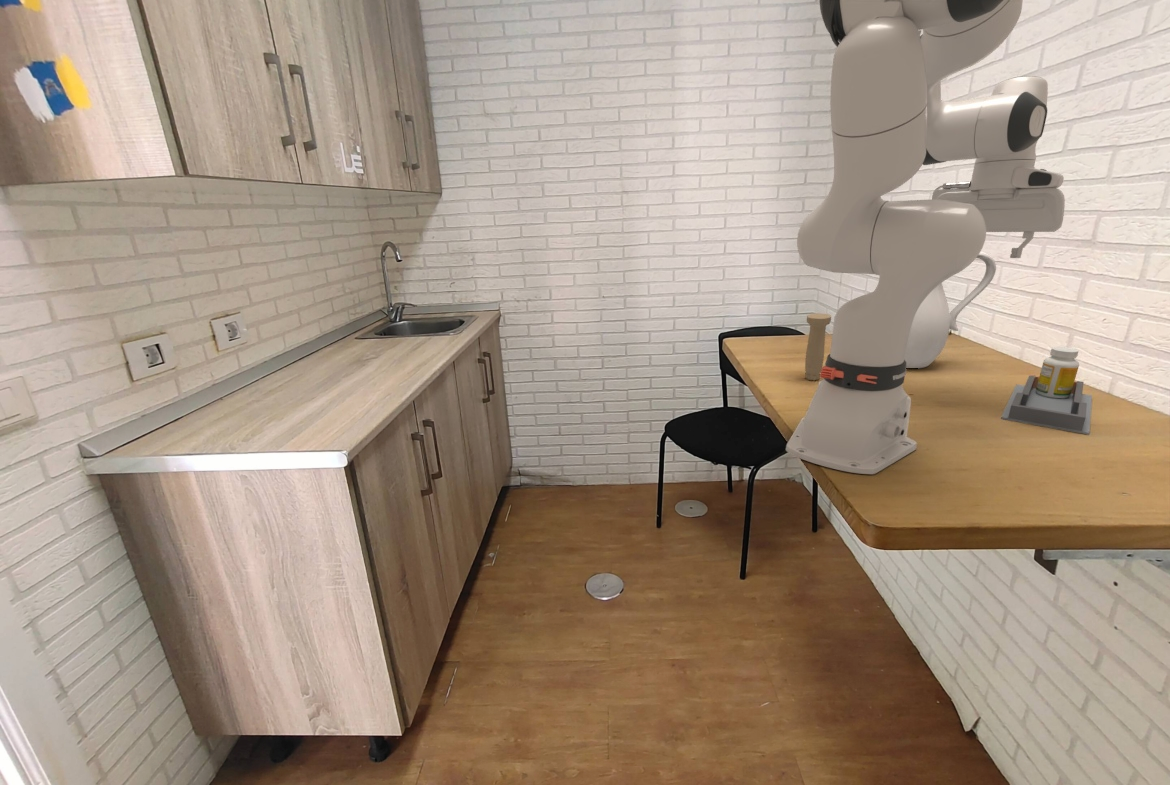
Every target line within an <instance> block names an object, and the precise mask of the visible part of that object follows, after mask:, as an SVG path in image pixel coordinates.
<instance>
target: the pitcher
mask: <svg viewBox="0 0 1170 785" xmlns="http://www.w3.org/2000/svg"><path fill="white" fill-rule="evenodd" d="M976 259H979V260H981V261H982V262H983V263H984V264H985V273H984V276H983V278H982V279H981V281H980V282H979V283H978V285H977V286H976V287H975V288H974V289H973V290H972V291H970V293H968V295H967V296H966V297H964V299H962V300H961V301H960V302H959V303H958V304H957V305H956V306H955V307H954V308H953V309H951V311H950V309H949V304H948V301H947V297H946V293H945V290H944V285H943V282H942V283H941V284H939V285H938V286H937V287H936V288H935V289H934V290H933V291H932V292H930V294H929V295H928V296H927V297H926V298H925V299H924V301H923V302H922V303H921V305H920V306H919V308H918V310H917V312H916V314H915V316H914V319H913V322H912V326H911V329H910V333H909V337H908V342H907V346H906V352H905V357H904V360H905V361H906V368H918V369H924V368H927V367H929V366H930V365H931V364H932V363H933V362H934V361H935V360H936V359H937V358H938V356H939V355H940V354H941V353H942V351H943V350H944V347H945V346H946V344H947V341H948V338H949V333H950V330H952V331H954V332H958V331H959V328H958V326H957V317H958V316H959V314H960V313H961V312H962V311H963V310H964V309H965V308H966V307H967V306H968V305H969V304H970V303H971V302H972V301H973V300H975V299H976V297H978V296H979V295H980V294H981V293H982V292H983V291H984V290H985V289H986V288H987V287H988V286H989V285H990V284H991V282H992V281H993V279H994V277H995V275H996V270H997V264H996V261H995V259H994V257H993V256H991V255H990V254H989V253H987V252H984V251H980V253H979V255H978V256H977V257H976Z"/></svg>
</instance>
